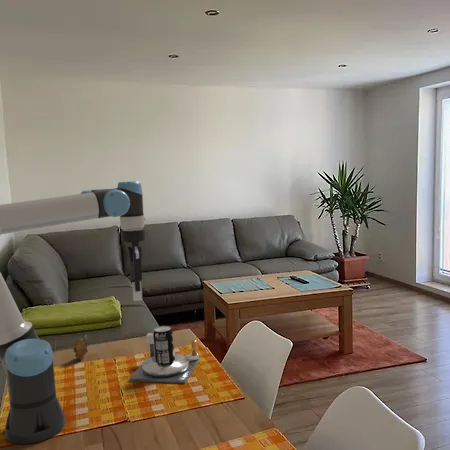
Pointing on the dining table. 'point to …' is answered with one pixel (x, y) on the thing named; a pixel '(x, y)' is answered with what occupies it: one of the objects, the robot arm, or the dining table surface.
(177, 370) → the turntable
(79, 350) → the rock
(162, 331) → the beverage can
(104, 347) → the dining table surface
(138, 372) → the turntable base
